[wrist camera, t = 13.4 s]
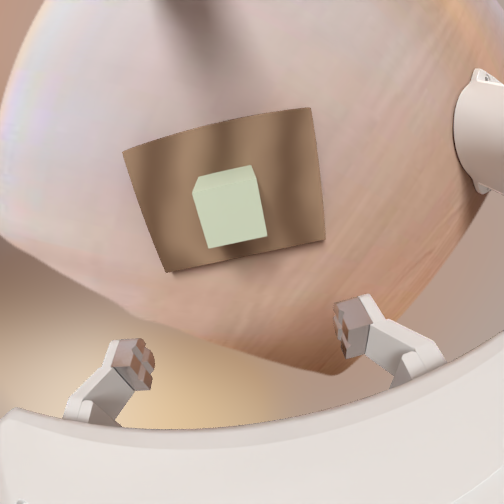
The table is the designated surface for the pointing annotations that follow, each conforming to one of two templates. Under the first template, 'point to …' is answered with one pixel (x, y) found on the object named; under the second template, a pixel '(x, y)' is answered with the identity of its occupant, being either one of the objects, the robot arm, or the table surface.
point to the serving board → (224, 158)
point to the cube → (229, 206)
